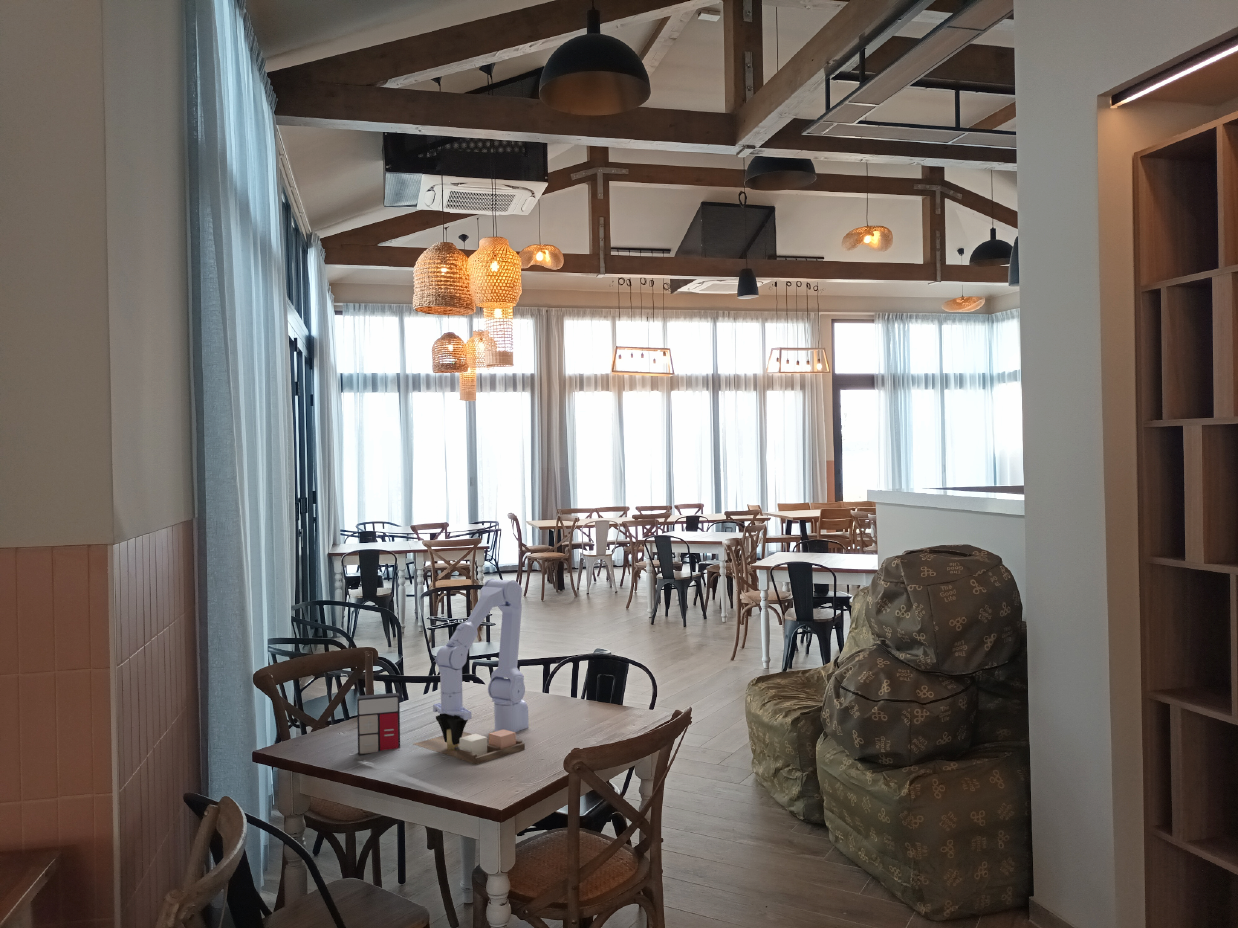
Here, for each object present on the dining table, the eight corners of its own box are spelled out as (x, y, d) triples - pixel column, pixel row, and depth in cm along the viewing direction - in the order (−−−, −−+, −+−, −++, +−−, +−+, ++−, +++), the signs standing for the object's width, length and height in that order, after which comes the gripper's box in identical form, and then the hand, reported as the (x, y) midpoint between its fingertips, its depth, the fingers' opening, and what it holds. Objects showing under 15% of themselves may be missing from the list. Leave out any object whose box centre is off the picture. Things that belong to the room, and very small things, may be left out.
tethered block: (457, 745, 236) (456, 726, 237) (487, 754, 228) (486, 735, 228) (441, 749, 233) (441, 730, 233) (471, 759, 224) (471, 739, 224)
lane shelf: (460, 734, 251) (460, 723, 251) (524, 752, 231) (524, 741, 232) (413, 747, 239) (412, 736, 239) (476, 768, 220) (476, 756, 220)
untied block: (503, 745, 235) (503, 729, 235) (515, 749, 231) (515, 732, 231) (489, 750, 231) (488, 733, 231) (501, 754, 228) (500, 736, 228)
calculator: (357, 756, 232) (356, 699, 233) (358, 751, 236) (357, 695, 237) (400, 751, 235) (399, 695, 235) (400, 747, 239) (399, 692, 240)
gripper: (423, 690, 236) (424, 740, 236) (455, 698, 226) (456, 750, 226) (444, 685, 241) (445, 734, 241) (477, 692, 231) (478, 744, 231)
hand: (452, 742), depth 234 cm, fingers closed on tethered block, 3 cm apart
